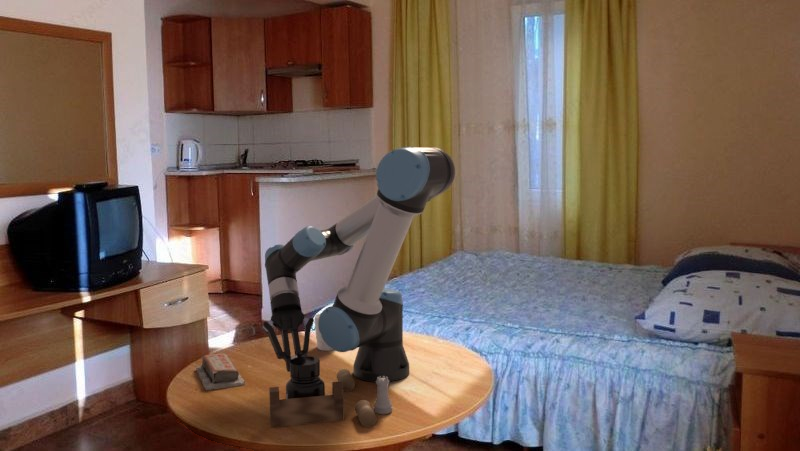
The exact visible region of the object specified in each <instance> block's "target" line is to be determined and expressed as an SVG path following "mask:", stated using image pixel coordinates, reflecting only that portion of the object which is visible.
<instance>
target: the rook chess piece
mask: <svg viewBox="0 0 800 451" xmlns="http://www.w3.org/2000/svg"><path fill="white" fill-rule="evenodd" d="M390 382H391V381H389V380H388V377H387V376H386V378H385V376H383V378H381V376H379V377H377V380H376V382H375V383H376V385H377V387H376V390H377V392H376V399H375V400H374V403H373V408H372V409H373V411H374V413H375V414H378V415H387V414H391V413H392V411H393V403H392V402H391V400H390V397H389V384H390Z"/></svg>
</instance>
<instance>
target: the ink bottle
mask: <svg viewBox="0 0 800 451" xmlns="http://www.w3.org/2000/svg"><path fill="white" fill-rule="evenodd" d="M320 364H321V361H320V358H318V357H317V356H311V355H310V356H309V355H307V356H303V357H297V358H294V359H291V361H290V372H289V377H290V380H288V381H287V382H286V384H285V399H292V398H303V397H314V396H325V395H326V392H325V391H326V386H325V382H324V380H323V379H322V378H320V374H321V370H320V368H321V365H320Z"/></svg>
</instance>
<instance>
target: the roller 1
mask: <svg viewBox="0 0 800 451" xmlns="http://www.w3.org/2000/svg"><path fill="white" fill-rule="evenodd" d="M336 379H337V382H338V381H341V382H342V385H343V392H345V393H347V392H352V391H353V390H354V389H355V384H356V383H355V380H354V378H353V376H352V374H351V372H350V371H349V370H348V369H347V368H342V369H340V370H338V372H337V373H336Z"/></svg>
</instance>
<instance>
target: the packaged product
mask: <svg viewBox="0 0 800 451" xmlns="http://www.w3.org/2000/svg"><path fill="white" fill-rule="evenodd" d="M195 369H196V370H195V371H196V372H197V375H198V377H199V379H200V381H202V382H201V384H202V383H203V384H202V385H203V387H204V389H205V390H206V391H212V390H213V389H214V390H219V389H220V388H221V389H227V388H234V387H241V386H245V385H246V381H245V380H244V378H243V377H242V376H241V374H240V372H239V371H238V370H237V367H236V366H235V365H234V364H233V362H232V360H231V359H230V357H229V356H228V354H226V353H222V352H219V353H210V354H205V355H203V356H202V362H201V365H196V367H195Z"/></svg>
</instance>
